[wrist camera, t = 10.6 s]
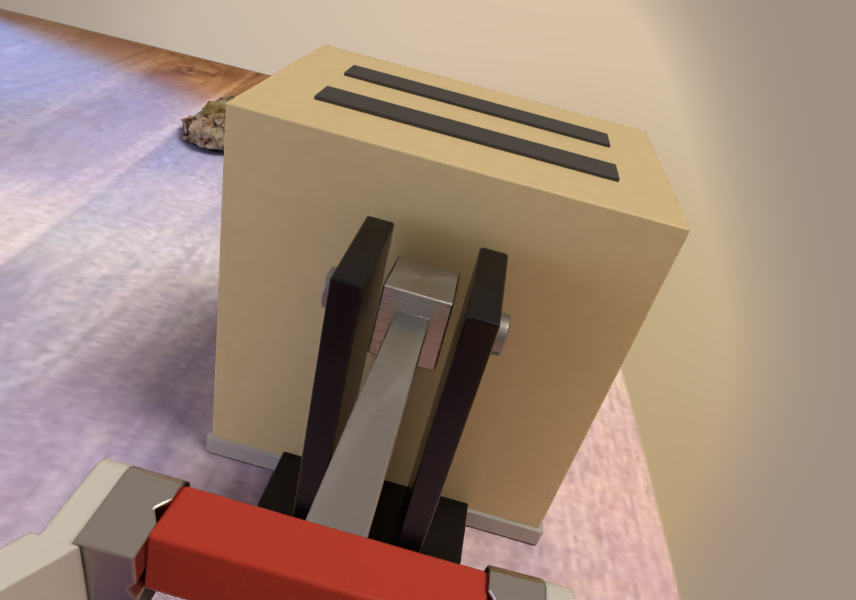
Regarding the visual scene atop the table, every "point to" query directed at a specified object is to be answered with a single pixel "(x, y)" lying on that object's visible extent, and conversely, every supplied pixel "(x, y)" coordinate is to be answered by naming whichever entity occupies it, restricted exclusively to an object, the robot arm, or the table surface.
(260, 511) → the lever
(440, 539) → the bracket
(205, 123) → the mineral rock
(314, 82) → the toaster
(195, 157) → the table surface
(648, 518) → the table surface
